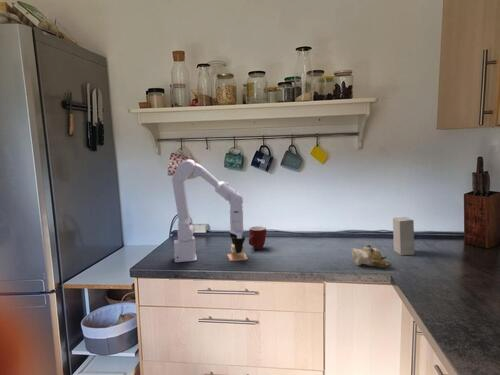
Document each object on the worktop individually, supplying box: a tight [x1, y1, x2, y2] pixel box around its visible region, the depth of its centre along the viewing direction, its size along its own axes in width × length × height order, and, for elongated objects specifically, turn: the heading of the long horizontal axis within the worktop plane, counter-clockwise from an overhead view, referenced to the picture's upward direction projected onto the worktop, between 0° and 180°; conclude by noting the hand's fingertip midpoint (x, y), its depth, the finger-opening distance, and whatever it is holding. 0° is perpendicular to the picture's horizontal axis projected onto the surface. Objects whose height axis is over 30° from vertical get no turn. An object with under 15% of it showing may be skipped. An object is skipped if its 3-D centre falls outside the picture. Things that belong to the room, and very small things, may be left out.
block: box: [230, 243, 245, 258], centre depth 160 cm, size 5×5×5 cm
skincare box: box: [392, 216, 415, 256], centre depth 162 cm, size 8×7×16 cm
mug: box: [248, 226, 267, 251], centre depth 171 cm, size 10×8×10 cm
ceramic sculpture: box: [351, 244, 392, 268], centre depth 147 cm, size 11×9×15 cm
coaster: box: [227, 252, 249, 262], centre depth 160 cm, size 8×8×1 cm
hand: (237, 250), depth 160 cm, fingers open, 7 cm apart
